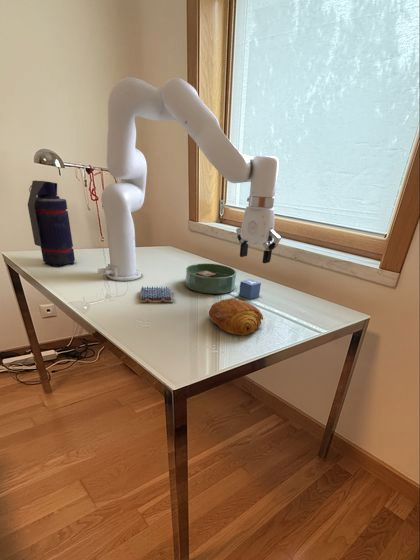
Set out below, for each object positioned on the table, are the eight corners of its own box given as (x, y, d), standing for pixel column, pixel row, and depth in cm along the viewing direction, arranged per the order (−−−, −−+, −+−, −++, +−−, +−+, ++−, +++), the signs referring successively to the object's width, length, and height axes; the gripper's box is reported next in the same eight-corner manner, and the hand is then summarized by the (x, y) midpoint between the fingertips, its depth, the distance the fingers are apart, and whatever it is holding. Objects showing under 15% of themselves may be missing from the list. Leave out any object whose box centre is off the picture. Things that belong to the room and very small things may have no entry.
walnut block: (205, 290, 113) (205, 276, 110) (195, 286, 116) (196, 272, 113) (215, 287, 116) (216, 273, 113) (205, 283, 119) (206, 270, 116)
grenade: (64, 258, 138) (51, 179, 123) (81, 263, 132) (70, 182, 117) (33, 263, 128) (15, 179, 113) (50, 270, 122) (33, 182, 107)
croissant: (223, 346, 83) (227, 321, 79) (201, 315, 94) (203, 291, 89) (270, 337, 89) (276, 313, 84) (244, 309, 100) (248, 286, 95)
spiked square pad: (139, 303, 100) (139, 297, 99) (140, 291, 109) (140, 285, 108) (173, 303, 101) (173, 297, 100) (171, 291, 110) (171, 286, 109)
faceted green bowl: (209, 298, 107) (210, 281, 104) (175, 283, 118) (176, 267, 115) (244, 288, 118) (246, 272, 115) (210, 275, 129) (211, 261, 126)
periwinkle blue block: (249, 299, 109) (251, 285, 106) (238, 295, 112) (240, 281, 109) (258, 296, 112) (261, 282, 109) (248, 292, 115) (249, 278, 112)
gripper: (232, 200, 100) (227, 255, 108) (277, 206, 89) (268, 267, 98) (247, 199, 105) (242, 252, 113) (292, 205, 94) (282, 263, 103)
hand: (254, 259), depth 106 cm, fingers open, 9 cm apart
